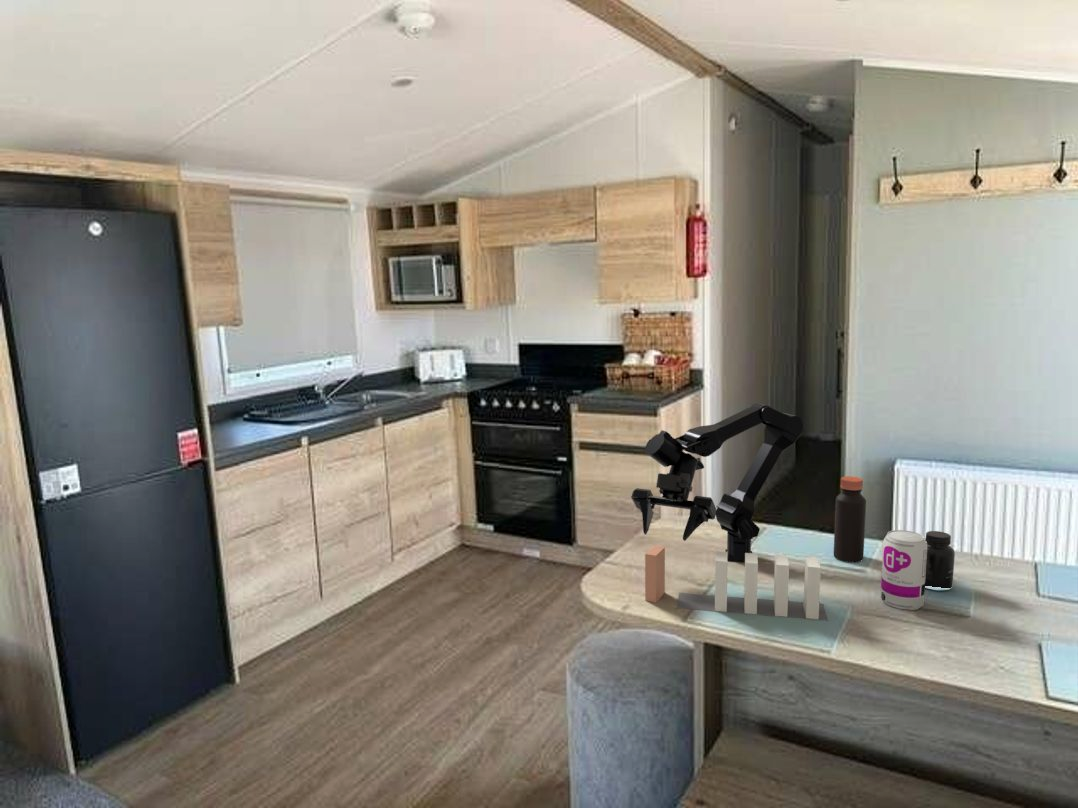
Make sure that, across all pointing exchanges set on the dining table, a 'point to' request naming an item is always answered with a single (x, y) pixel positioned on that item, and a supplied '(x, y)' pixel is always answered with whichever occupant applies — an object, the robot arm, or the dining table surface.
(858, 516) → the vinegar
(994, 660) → the dining table surface
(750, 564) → the domino
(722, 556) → the domino
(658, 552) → the orange end domino
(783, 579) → the domino
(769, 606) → the mat
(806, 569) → the domino
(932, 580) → the supplement bottle
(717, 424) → the robot arm
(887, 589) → the supplement can
